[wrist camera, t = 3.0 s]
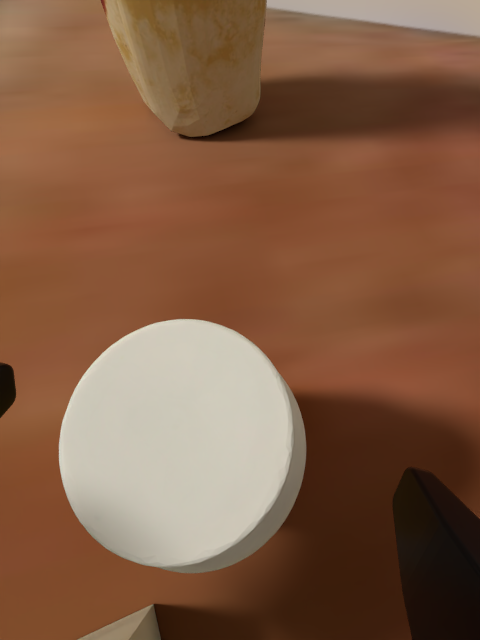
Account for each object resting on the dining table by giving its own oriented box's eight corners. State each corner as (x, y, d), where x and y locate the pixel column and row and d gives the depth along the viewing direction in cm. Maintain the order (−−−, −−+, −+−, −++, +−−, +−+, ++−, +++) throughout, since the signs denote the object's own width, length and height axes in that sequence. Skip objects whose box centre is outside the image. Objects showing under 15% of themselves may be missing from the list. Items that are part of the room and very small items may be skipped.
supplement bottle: (215, 558, 13) (144, 761, 4) (131, 452, 14) (-50, 427, 6) (306, 453, 14) (403, 428, 5) (221, 367, 16) (190, 242, 7)
